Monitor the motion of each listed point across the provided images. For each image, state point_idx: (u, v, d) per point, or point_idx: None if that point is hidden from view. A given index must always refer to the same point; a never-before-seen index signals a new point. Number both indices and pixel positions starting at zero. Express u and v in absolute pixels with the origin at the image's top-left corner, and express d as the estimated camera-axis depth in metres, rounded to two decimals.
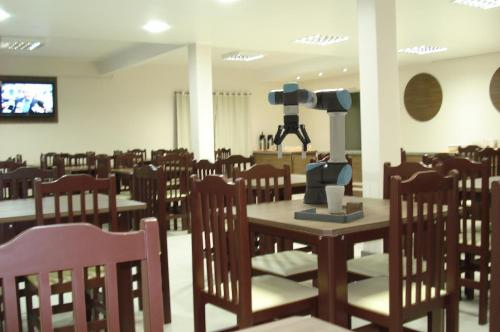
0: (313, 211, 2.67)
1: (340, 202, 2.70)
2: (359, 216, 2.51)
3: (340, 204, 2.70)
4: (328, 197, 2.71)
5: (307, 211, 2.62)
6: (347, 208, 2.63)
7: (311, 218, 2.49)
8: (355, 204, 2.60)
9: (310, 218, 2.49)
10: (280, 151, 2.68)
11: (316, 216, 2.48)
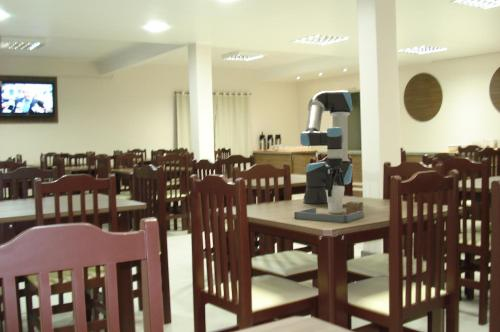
0: (313, 211, 2.67)
1: (340, 202, 2.70)
2: (359, 216, 2.51)
3: (340, 204, 2.70)
4: None
5: (307, 211, 2.62)
6: (347, 208, 2.63)
7: (311, 218, 2.49)
8: (355, 204, 2.60)
9: (310, 218, 2.49)
10: None
11: (316, 216, 2.48)
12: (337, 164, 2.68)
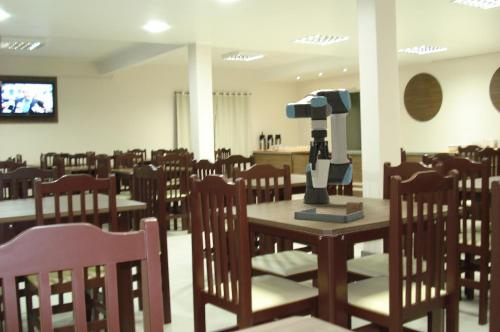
0: (313, 211, 2.67)
1: (325, 176, 2.54)
2: (359, 216, 2.51)
3: (325, 178, 2.54)
4: None
5: (307, 211, 2.62)
6: (347, 208, 2.63)
7: (311, 218, 2.49)
8: (355, 204, 2.60)
9: (310, 218, 2.49)
10: None
11: (316, 216, 2.48)
12: (321, 136, 2.52)
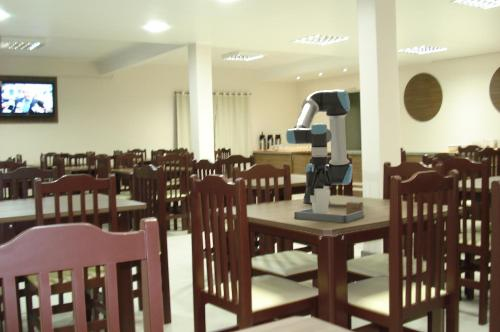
0: None
1: (325, 206, 2.55)
2: (359, 216, 2.51)
3: (325, 208, 2.55)
4: None
5: (307, 211, 2.62)
6: (347, 208, 2.63)
7: (311, 218, 2.49)
8: (355, 204, 2.60)
9: (310, 218, 2.49)
10: None
11: (316, 216, 2.48)
12: (322, 163, 2.53)
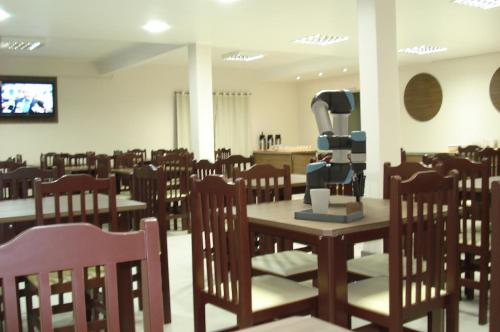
0: None
1: (325, 206, 2.55)
2: (359, 216, 2.51)
3: (325, 208, 2.55)
4: (313, 201, 2.56)
5: (307, 211, 2.62)
6: (347, 208, 2.63)
7: (311, 218, 2.49)
8: (355, 204, 2.60)
9: (310, 218, 2.49)
10: None
11: (316, 216, 2.48)
12: (361, 169, 2.63)
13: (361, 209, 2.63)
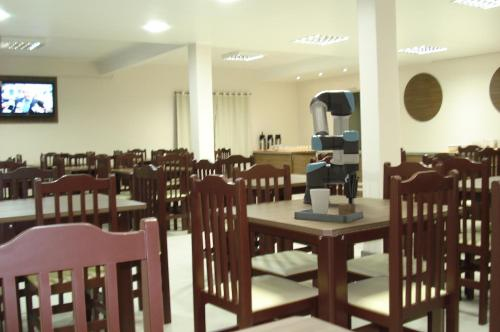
0: None
1: (325, 206, 2.55)
2: (359, 216, 2.51)
3: (325, 208, 2.55)
4: (313, 201, 2.56)
5: (307, 211, 2.62)
6: (339, 210, 2.55)
7: (311, 218, 2.49)
8: (347, 206, 2.53)
9: (310, 218, 2.49)
10: None
11: (316, 216, 2.48)
12: (354, 170, 2.56)
13: (354, 211, 2.56)
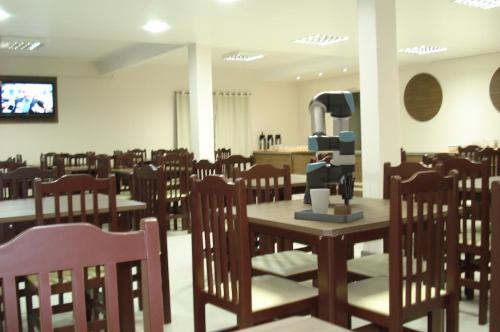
0: None
1: (325, 206, 2.55)
2: (359, 216, 2.51)
3: (325, 208, 2.55)
4: (313, 201, 2.56)
5: (307, 211, 2.62)
6: (335, 211, 2.52)
7: (311, 218, 2.49)
8: (343, 207, 2.49)
9: (310, 218, 2.49)
10: None
11: (316, 216, 2.48)
12: (350, 171, 2.53)
13: (350, 212, 2.53)
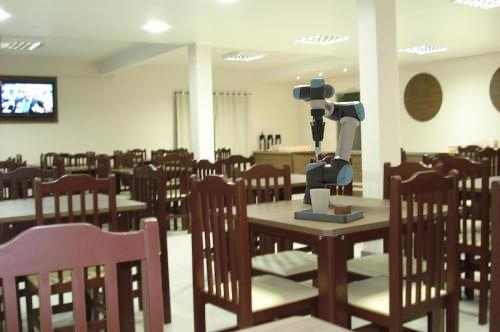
0: None
1: (325, 206, 2.55)
2: (359, 216, 2.51)
3: (325, 208, 2.55)
4: (313, 201, 2.56)
5: (307, 211, 2.62)
6: (335, 211, 2.52)
7: (311, 218, 2.49)
8: (343, 207, 2.49)
9: (310, 218, 2.49)
10: None
11: (316, 216, 2.48)
12: (320, 114, 2.78)
13: (350, 212, 2.52)
